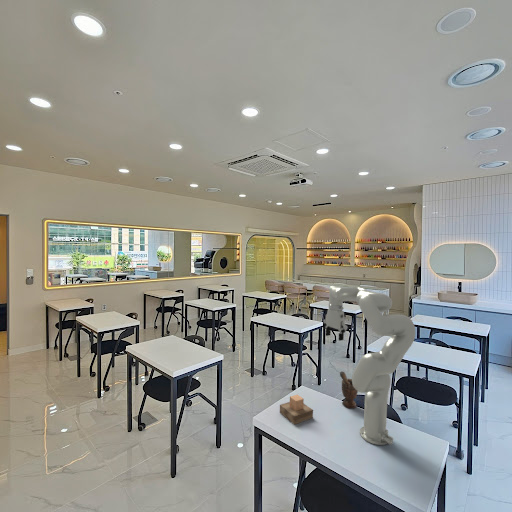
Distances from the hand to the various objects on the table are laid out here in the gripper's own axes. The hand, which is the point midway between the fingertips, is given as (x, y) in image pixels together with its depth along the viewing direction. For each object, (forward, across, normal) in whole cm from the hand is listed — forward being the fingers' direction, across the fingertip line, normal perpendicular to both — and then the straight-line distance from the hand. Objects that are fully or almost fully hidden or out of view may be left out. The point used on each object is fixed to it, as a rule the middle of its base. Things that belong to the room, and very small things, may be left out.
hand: (334, 337), depth 163 cm
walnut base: (+36, -1, +27) cm, 45 cm away
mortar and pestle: (+36, -8, -4) cm, 38 cm away
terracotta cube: (+32, -1, +27) cm, 42 cm away
